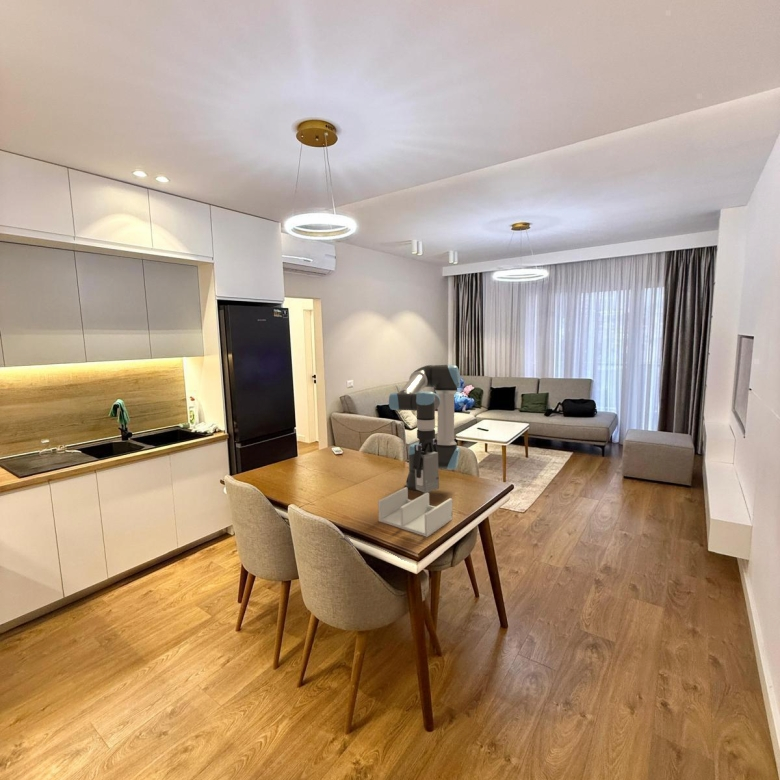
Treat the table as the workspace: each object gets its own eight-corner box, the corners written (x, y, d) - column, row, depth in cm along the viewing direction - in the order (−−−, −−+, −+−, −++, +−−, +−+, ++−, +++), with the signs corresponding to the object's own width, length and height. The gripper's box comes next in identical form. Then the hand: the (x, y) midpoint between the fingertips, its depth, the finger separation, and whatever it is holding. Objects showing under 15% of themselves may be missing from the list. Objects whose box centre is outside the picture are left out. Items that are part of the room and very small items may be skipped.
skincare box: (425, 493, 166) (424, 456, 164) (414, 489, 172) (412, 452, 170) (440, 488, 171) (439, 452, 169) (429, 484, 177) (427, 448, 174)
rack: (405, 505, 192) (405, 487, 191) (452, 519, 177) (452, 498, 176) (378, 521, 177) (378, 500, 176) (427, 536, 161) (427, 514, 160)
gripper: (432, 423, 179) (433, 473, 182) (402, 432, 162) (404, 487, 165) (447, 425, 174) (447, 476, 177) (418, 435, 157) (419, 491, 160)
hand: (426, 481), depth 171 cm, fingers closed on skincare box, 9 cm apart
